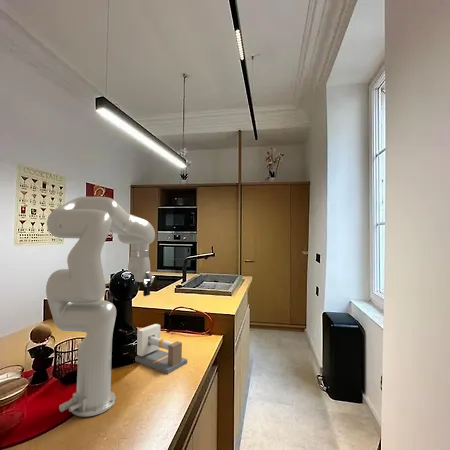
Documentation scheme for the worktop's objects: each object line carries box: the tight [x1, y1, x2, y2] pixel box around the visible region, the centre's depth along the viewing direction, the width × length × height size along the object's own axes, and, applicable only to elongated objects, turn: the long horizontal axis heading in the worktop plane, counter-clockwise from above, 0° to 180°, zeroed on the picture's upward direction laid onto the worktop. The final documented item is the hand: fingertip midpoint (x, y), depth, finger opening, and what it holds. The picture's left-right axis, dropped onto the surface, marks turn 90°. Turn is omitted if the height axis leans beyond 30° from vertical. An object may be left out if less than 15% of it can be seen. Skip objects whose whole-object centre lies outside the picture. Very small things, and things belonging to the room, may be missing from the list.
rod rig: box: [134, 336, 188, 375], centre depth 119 cm, size 11×22×9 cm, turn 57°
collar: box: [136, 323, 161, 356], centre depth 122 cm, size 10×3×10 cm, turn 147°
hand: (139, 293), depth 126 cm, fingers open, 9 cm apart
